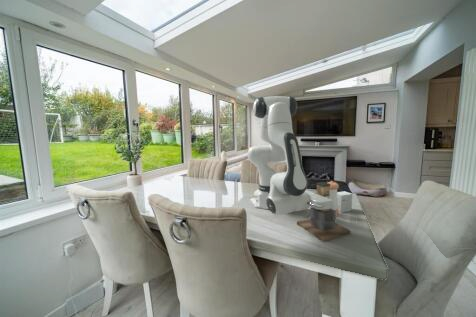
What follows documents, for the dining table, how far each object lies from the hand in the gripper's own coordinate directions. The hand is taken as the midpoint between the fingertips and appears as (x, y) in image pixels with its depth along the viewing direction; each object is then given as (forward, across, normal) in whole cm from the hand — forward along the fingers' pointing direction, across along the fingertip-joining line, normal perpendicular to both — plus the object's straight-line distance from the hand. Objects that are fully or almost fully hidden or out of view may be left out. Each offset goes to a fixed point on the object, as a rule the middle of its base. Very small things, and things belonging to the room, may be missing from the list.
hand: (324, 195), depth 95 cm
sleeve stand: (-1, 0, +16) cm, 17 cm away
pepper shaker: (+16, +11, +17) cm, 26 cm away
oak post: (-1, 0, +15) cm, 15 cm away
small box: (+26, +12, +17) cm, 33 cm away
